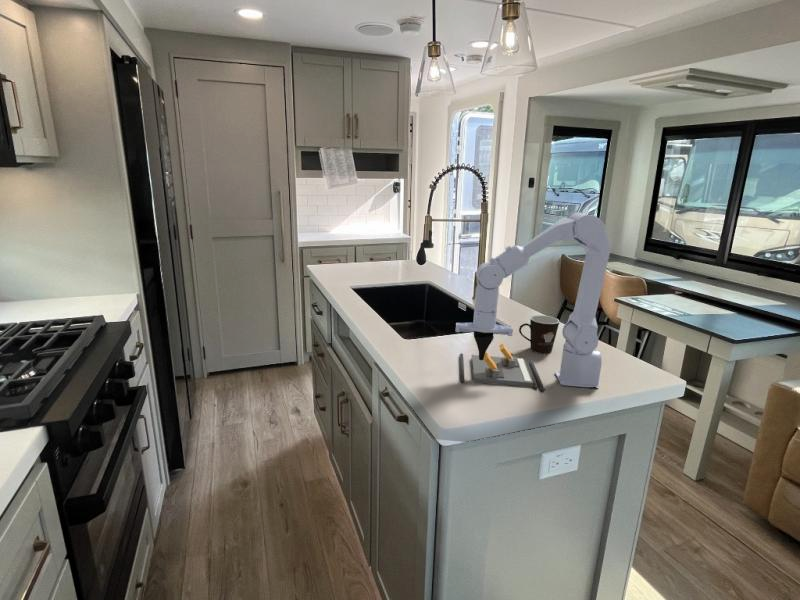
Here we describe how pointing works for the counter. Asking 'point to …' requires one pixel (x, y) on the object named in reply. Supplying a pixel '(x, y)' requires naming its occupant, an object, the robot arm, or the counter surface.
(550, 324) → the coffee mug
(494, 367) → the breaker lever
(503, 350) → the breaker lever
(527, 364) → the dark long thin strip
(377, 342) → the counter surface
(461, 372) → the cord far
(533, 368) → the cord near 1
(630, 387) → the counter surface
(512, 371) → the breaker panel
